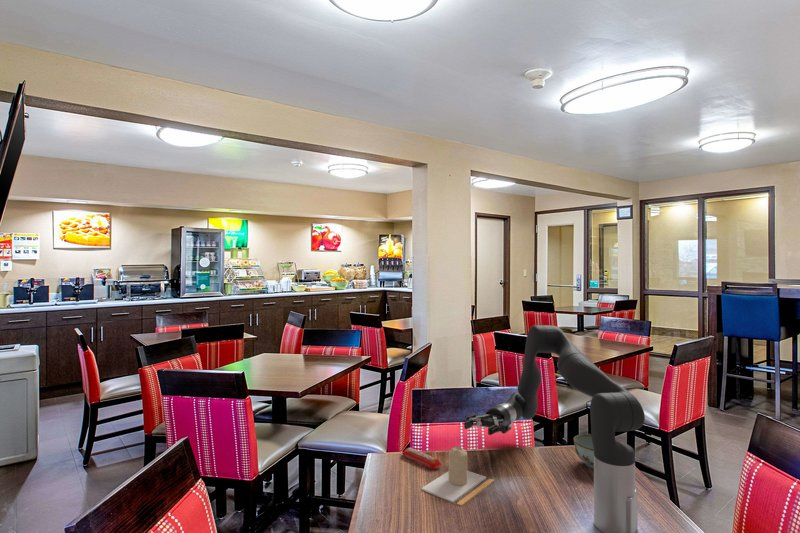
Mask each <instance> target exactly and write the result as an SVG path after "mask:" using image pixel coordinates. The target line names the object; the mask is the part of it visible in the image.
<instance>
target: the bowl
mask: <svg viewBox="0 0 800 533" xmlns="http://www.w3.org/2000/svg"><path fill="white" fill-rule="evenodd" d="M573 444H574V445H573V446H574V451H575V453H576V455H577V457H578V458H579V459H580V460H581V461H582V463H584V464H585V466H586V467H587V468H589V469H590V470H593V471H594V448H593V443H592V433H581V434H577V435H575V436H574V437H573Z"/></svg>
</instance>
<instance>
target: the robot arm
mask: <svg viewBox="0 0 800 533" xmlns="http://www.w3.org/2000/svg"><path fill="white" fill-rule="evenodd" d="M524 347H525V348H524V354H523V355H524V357H523V365H522V371H521V375H520V378H519V382H518V384H517V391H515V392H513V393H511V395H510V396H509V398H508V400H507V401H505V402H503V403H500V404H497V405H495V406H492V407H490V408H489V409H488V410H487V411H486V413H484V414H483V415H478V413H477V412H475V413H471V414H469V415H467V416H465V421H464V423H463V427H464V430H469V429H471V428H472V427H476V428H487V434H488V435H489V436H492V435H495V434H496V433H497V434H499V433H501V434H504V435H505V434H506V433H508V432H509V431H510V430H512V424H513V423H514V422H516V421H518V420H519V419H521V418H523V419H525V420H531V419H533V418H534V417H535V416H536V415H537V411H538V392H539V389H540V385H541V382H542V373H541V370H540V368H539V366H538V363H537V360H536V358H537V355H538V354H542V353H543V354H555V355H557V356H558V358H557V364H556V365H557V370H558V372H559V374H560V375H561V377H562V378H563V379H564V381H565V382H567V384H569V385H570V387H572V388H573V389H575V390H577V391H579V392H580V393H583V394H585V395H588V396H589V397H592V398H591V401H590V406H589V407H590V408H589V412H590V429H591V431H590V432H591V434H592V443H593V448H594V470H593V523H594V526H595V527H596V528H597V530H598V531H600V532H602V533H636V532H637V531H638V528H639V527H638V524H639V522H638V519H639V518H638V516H639V515H638V514H639V513H638V511H639V510H638V490H637V489H636V452H635V450H634V448H633V447H632V446H631V445H629V444H627V443H626V442H622V441H620V440H617V439H616V435H615V434H616V433H618V432H619V433H620V432H631V431H632V432H633V431H636V430H639V429H641V428H642V427H643V426H644V424H645V420H646V415H645V411H644V409H643V406H642V404H641V402H639V400H638V398H637V397H636V396H635V395H633V394H632V393H631V392H630V391H628V390H627V389H625V387H623V386H622V385H621V384H619V383H617V382H616V381H614V380H613V379H611V377H609V376H608V375H607V374H606V373H605V372H604V371H603V370H601V369H600V368H599V367H598V366H597V365H596V364H594V362H593V361H592V360H591V359H589V358H588V357H587V355H585V354H584V352H582V351H581V350H580V349H579V348H577V346H576V345H575V344H574V343H572V342H571V340H570V339H569V338H568V336H567V335H566V333H565V332H564V331H563V330H562V329H561V328H560V327H558V326H556V325H550V324H549V325H547V324H537V325H536V324H533V325H532V326H530V328H529V329H528V331H527V335H526V339H525V346H524Z"/></svg>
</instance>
